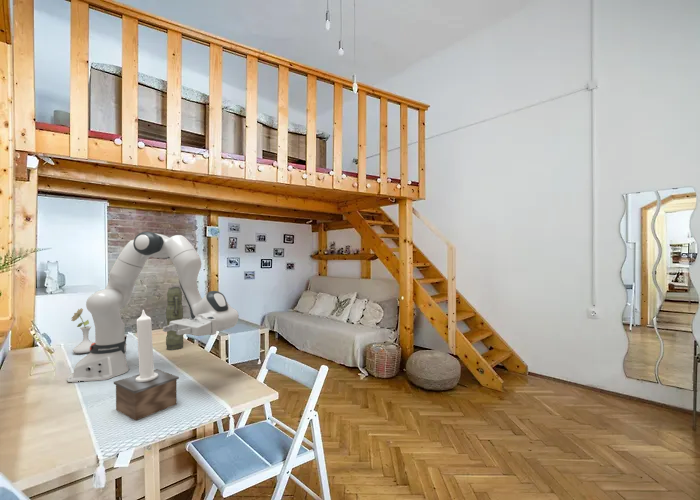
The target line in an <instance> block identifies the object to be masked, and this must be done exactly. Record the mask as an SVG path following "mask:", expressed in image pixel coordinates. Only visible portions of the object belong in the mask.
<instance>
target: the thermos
mask: <svg viewBox="0 0 700 500" xmlns="http://www.w3.org/2000/svg"><path fill="white" fill-rule="evenodd" d="M166 299H167V304H166V305H167V306H166V309H165V317H166V318H165V319H166V326H168V325H169V322H170V321H174V320H181V319H184V306H183V303H182V301H183V291H182V289H181V287H180V286H172V287H170V288H168V290H167V293H166ZM165 345H166V350H167V351H177V350H181V349H183V348H184V334H182V335H177V334H176V331H172V330H170V331H167V332H166V337H165Z"/></svg>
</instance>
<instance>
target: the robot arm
mask: <svg viewBox="0 0 700 500" xmlns="http://www.w3.org/2000/svg"><path fill="white" fill-rule="evenodd" d="M118 254H119V255H118V257H117V258H116V259H115V262H114V264H113V266H112V267H111V269H110V271H109V274H108V275H109V278H108V283H107V286H106V287H105V288H104V289H101V290H98V291H95V292H94V293H92V294H91V295H90V296H89V297H88V298H87V300H86V301H85V302H86V303H85V307H86V309H87V311H88V312H89V313H90V314H91V316H92V320H93V323H94V330H95V331H94V332H95V335H94V336H95V342H93V343H92V344H91V346H90V352H88V353H87V354H86V355H85V356H84V357H83V358H81V359H80V360H79V361H78V362H76V364H75V365H74V369H73V372H72V373H71V374H70V375H68V376H67V378H66V382H67V381H68V382H72V383H81V382H80V381H84V382H94V381H104V380H105V381H106V380H109V379H111V378H114V377H117V376H121V375H123V374H125V373H127V372H129V370H130V368H129V366H128V362H127V357H126V352H127V339H126V340H125V335H126V334H125V330H126V327H125V325H126V324H125V322H124V321H123V319H122V315H121V310H122V309H123V308H125V307H126V306H128V304H129V303H130V302H131V300H132V294H133V291H134V287H135V284H136V281H137V280H138V278H139V276H140V274H141V273H142V270H143V268H144V266H145V264H146V263H147V260H149V258H156V259H158V258H159V259H163V260H165V259H166V260H167V259H170V260H171V262H172V265H173V266H174V268H175V271H176V274H177V277H178V283H179V287H180V288H181V291H182V294H183V295H184V298H185V300H186V302H187V304H188V308H189V313H190V317H191V319H190V318H182V319H181V320H174V321H170V322H169V325H168V326H167V325H166V326H162V332H165V333H167V331H170V330H172V331H176V334H177V335H182V334H183V335H190V336H195V337H203V336H215V335H217V332H223V331H226V330H230V329H232V328H234V327H235V326H236V325H237V324H238V322H239V312H238V310H236V309H235V308H234V307H232V306H231V305H230V304H229V302H228V301H227V298H226V297H225V295H224V293H222V292H220V291H217V290H211V291H209V292H207V293H206V294H205V295H204V296H203V297H202V296H201V294H200V292H199V290H198V286H197V280H198V277H199V274H200V271H201V267H202V261H201V257H200V255H199V253H198V251H197V250H196V248H195V247H194V246H193V244H192V243H191V242H190V241H189V240H188V238H186V237H185V236H183V235H181V234H175V235H173V236H170V237H169V236H167V235H165V234H162V233H156V232H152V231H142V232H140V233H137V235H135V238H134V239H132V240H130V241H129V240H128V242H127V243H126V245H125V246H124V247H123V248H122V250H121V251H120V253H118ZM78 381H79V382H78ZM68 382H67V383H68Z"/></svg>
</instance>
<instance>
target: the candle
mask: <svg viewBox="0 0 700 500" xmlns="http://www.w3.org/2000/svg"><path fill="white" fill-rule="evenodd" d="M152 327H153V325H152V318H151V316H149V315H147V314H146V312H145V309H142V311H141V315H140V316H139V317H138V318H137V319H136V332H137V333H136V334H137V350H138V351H137V352H138V367H139V370H138V375H139V374H140V376H138V377H136V382H147V381H151V380H154V379H156V378H157V377H158V373H154V370H155V367H154V366H155V365H154V363H155V362H154V347H153V346H154V345H153V343H154V342H153V331H152V329H153V328H152Z"/></svg>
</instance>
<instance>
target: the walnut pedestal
mask: <svg viewBox="0 0 700 500" xmlns="http://www.w3.org/2000/svg"><path fill="white" fill-rule="evenodd" d="M154 373H158V377H157V378H156V379H154V380H151V381H147V382H136V377H138V376H140V374H139V373H138V374H135V375H132V376H128V377H125V378H121V379H119V380H115V381H113V385H115V410H116V411H118V412H119V413H121V414H123V415H125V416H127V417H128V418H130V419H132V420H134V421H138V420H140V419H143V418H145V417H147V416H150V415H153V414H156V413H158V412H160V411H163V410H166V409H168V408H170V407H171V408H172V406H176V405H177V404H178V403H177V400H178V399H177V398H178V396H177V393H178V392H177V391H178V390H177V385H178V384H177V382H178V381H177V380H179V379H180V378H179V376H177V375H174V374H173V373H169V372H167V371H164V370H161V369H158V368H156V369H154Z"/></svg>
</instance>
